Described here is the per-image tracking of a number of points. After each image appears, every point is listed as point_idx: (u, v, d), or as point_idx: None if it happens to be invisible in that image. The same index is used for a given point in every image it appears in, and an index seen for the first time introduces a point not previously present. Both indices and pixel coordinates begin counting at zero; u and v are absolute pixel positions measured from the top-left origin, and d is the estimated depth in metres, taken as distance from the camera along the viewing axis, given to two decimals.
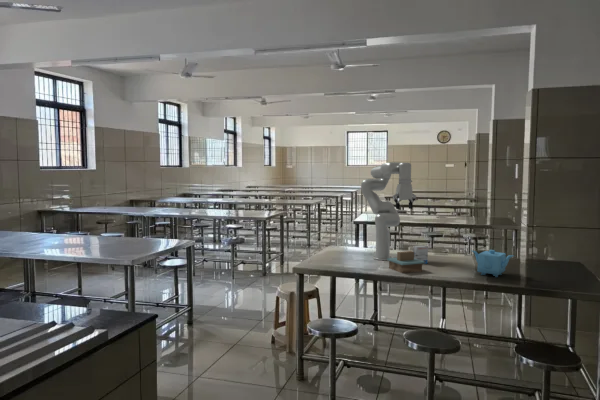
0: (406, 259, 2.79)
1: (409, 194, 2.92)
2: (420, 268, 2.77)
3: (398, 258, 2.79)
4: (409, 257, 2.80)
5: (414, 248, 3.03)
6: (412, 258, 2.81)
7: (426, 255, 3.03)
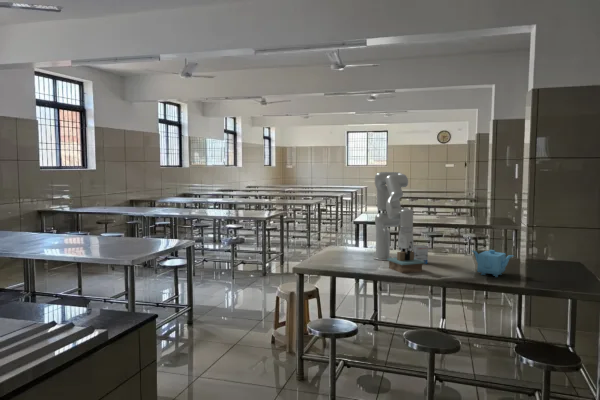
0: None
1: None
2: (420, 268, 2.77)
3: (398, 258, 2.79)
4: None
5: (414, 248, 3.03)
6: (412, 258, 2.81)
7: (426, 255, 3.03)
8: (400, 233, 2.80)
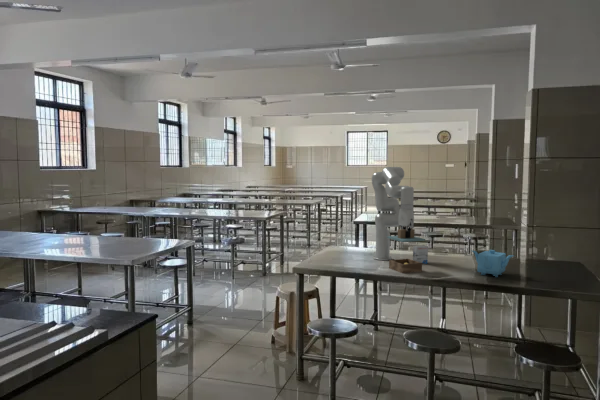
0: None
1: None
2: (420, 268, 2.77)
3: (399, 236, 2.78)
4: (410, 235, 2.79)
5: (414, 248, 3.03)
6: (413, 236, 2.80)
7: (426, 255, 3.03)
8: (401, 211, 2.79)
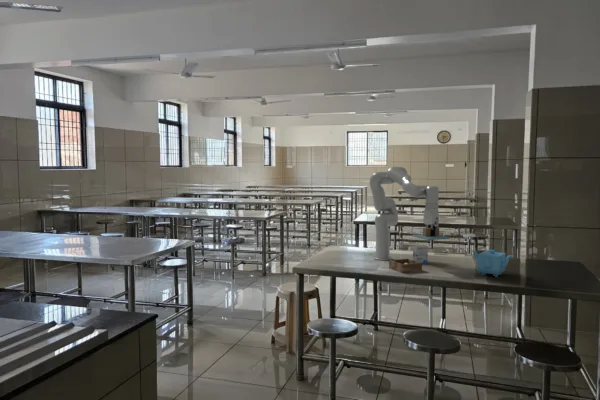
0: None
1: None
2: (420, 268, 2.77)
3: (424, 234, 2.85)
4: None
5: (414, 248, 3.03)
6: (437, 234, 2.86)
7: (426, 255, 3.03)
8: (426, 209, 2.86)
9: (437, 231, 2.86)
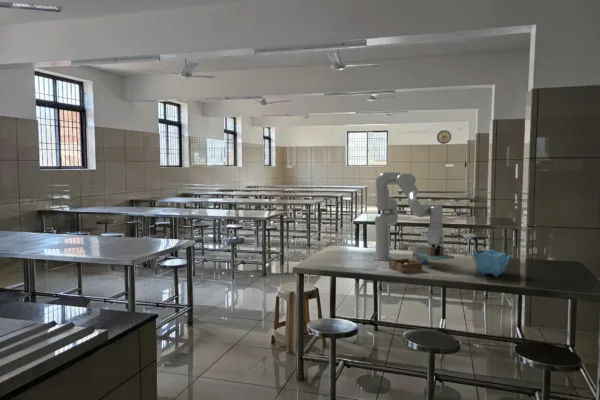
0: None
1: None
2: (420, 268, 2.77)
3: (428, 253, 2.87)
4: None
5: (414, 248, 3.03)
6: (442, 253, 2.89)
7: None
8: (430, 229, 2.89)
9: (441, 250, 2.88)
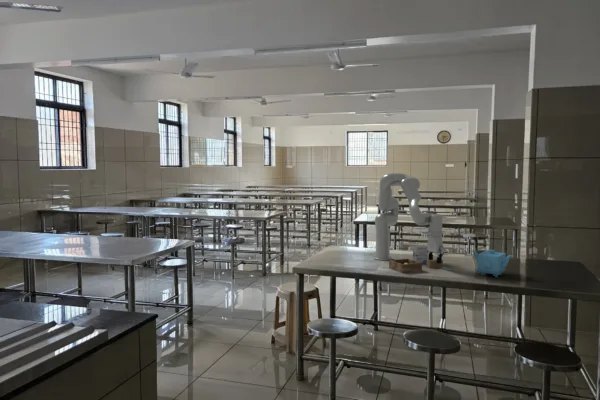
0: (435, 267, 2.88)
1: None
2: (420, 268, 2.77)
3: (427, 266, 2.88)
4: (438, 265, 2.89)
5: (414, 248, 3.03)
6: (441, 266, 2.90)
7: (426, 255, 3.03)
8: (429, 237, 2.89)
9: (440, 263, 2.89)
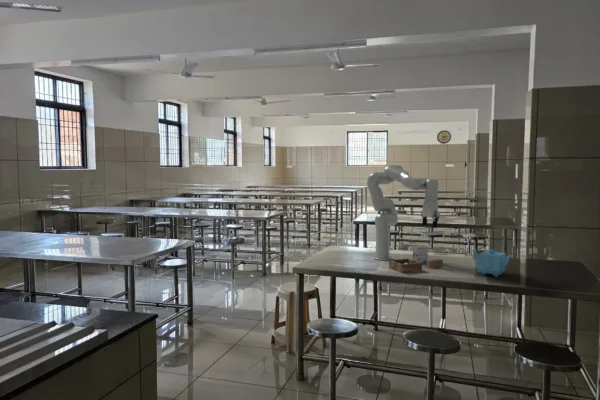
0: (435, 267, 2.88)
1: None
2: (420, 268, 2.77)
3: (427, 266, 2.88)
4: (438, 265, 2.89)
5: (414, 248, 3.03)
6: (441, 266, 2.89)
7: (426, 255, 3.03)
8: (425, 202, 2.89)
9: (440, 263, 2.89)
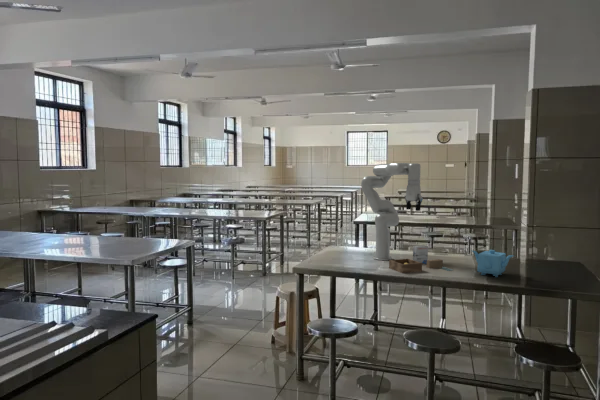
0: (435, 267, 2.88)
1: None
2: (420, 268, 2.77)
3: (427, 266, 2.88)
4: (438, 265, 2.89)
5: (414, 248, 3.03)
6: (441, 266, 2.89)
7: (426, 255, 3.03)
8: (408, 186, 2.92)
9: (440, 263, 2.89)
